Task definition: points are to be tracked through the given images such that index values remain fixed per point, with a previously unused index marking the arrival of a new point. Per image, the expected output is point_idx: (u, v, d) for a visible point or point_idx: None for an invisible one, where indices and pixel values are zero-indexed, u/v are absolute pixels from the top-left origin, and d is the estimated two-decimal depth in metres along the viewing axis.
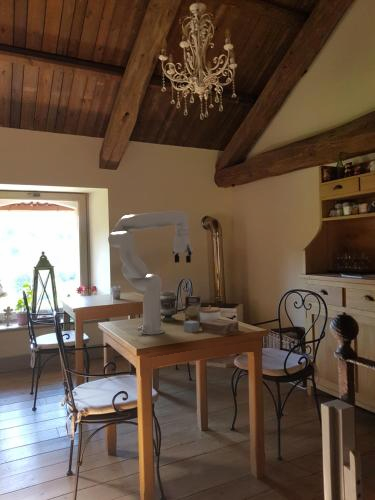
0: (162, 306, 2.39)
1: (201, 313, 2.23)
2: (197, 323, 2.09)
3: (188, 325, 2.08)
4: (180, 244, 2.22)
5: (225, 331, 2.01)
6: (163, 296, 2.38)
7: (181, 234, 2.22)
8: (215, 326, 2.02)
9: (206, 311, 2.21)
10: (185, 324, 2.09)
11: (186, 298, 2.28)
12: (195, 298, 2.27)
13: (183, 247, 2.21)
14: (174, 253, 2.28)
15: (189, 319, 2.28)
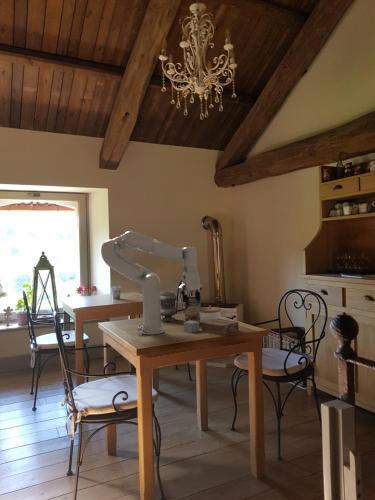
0: (162, 306, 2.39)
1: (201, 313, 2.23)
2: (197, 323, 2.09)
3: (188, 325, 2.08)
4: (196, 281, 2.09)
5: (225, 331, 2.01)
6: (163, 296, 2.38)
7: None
8: (215, 326, 2.02)
9: (206, 311, 2.21)
10: (185, 324, 2.09)
11: None
12: None
13: (199, 284, 2.11)
14: (185, 292, 2.05)
15: (189, 319, 2.28)
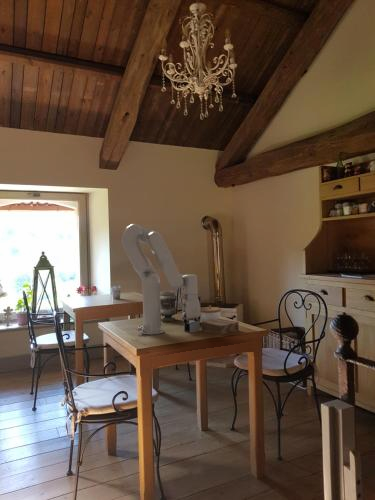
0: (162, 306, 2.39)
1: (202, 313, 2.23)
2: (197, 323, 2.09)
3: None
4: (196, 309, 2.09)
5: (225, 331, 2.01)
6: (163, 296, 2.38)
7: (197, 298, 2.10)
8: (215, 326, 2.02)
9: (207, 311, 2.21)
10: None
11: None
12: None
13: (199, 311, 2.11)
14: (187, 321, 2.06)
15: None
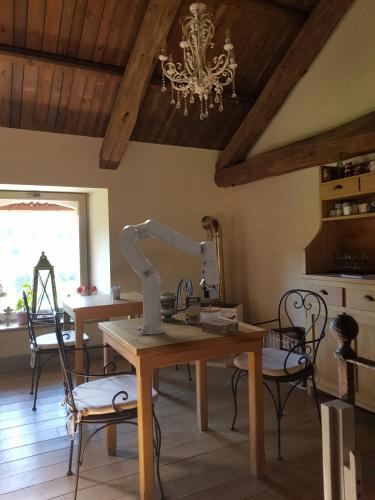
0: (162, 306, 2.39)
1: (202, 313, 2.23)
2: (216, 290, 2.08)
3: None
4: (215, 275, 2.08)
5: (225, 331, 2.01)
6: (163, 296, 2.38)
7: (215, 265, 2.09)
8: (214, 326, 2.02)
9: (207, 311, 2.21)
10: None
11: (186, 298, 2.27)
12: (196, 298, 2.27)
13: (218, 278, 2.10)
14: (207, 288, 2.05)
15: (189, 319, 2.27)
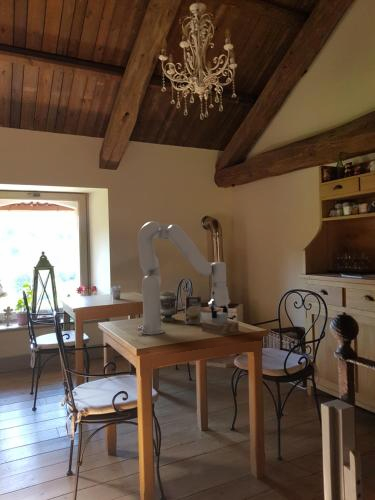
0: (162, 306, 2.39)
1: (203, 313, 2.23)
2: (225, 314, 2.08)
3: (217, 316, 2.06)
4: (225, 297, 2.08)
5: (224, 331, 2.01)
6: (163, 296, 2.38)
7: None
8: (214, 326, 2.02)
9: (208, 311, 2.21)
10: None
11: (187, 298, 2.27)
12: (196, 298, 2.27)
13: (227, 299, 2.09)
14: (215, 308, 2.04)
15: (190, 319, 2.27)
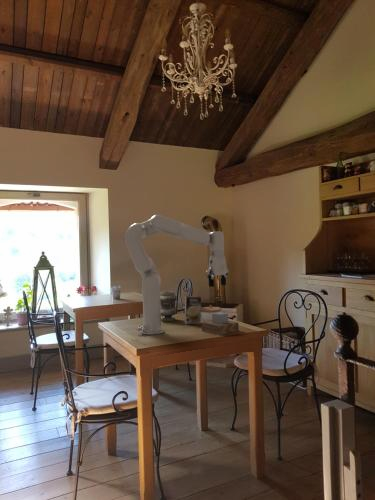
0: (162, 306, 2.39)
1: (203, 313, 2.23)
2: (226, 314, 2.08)
3: (217, 316, 2.06)
4: (222, 266, 2.08)
5: (224, 332, 2.01)
6: (163, 296, 2.38)
7: None
8: (214, 326, 2.02)
9: (209, 311, 2.21)
10: (214, 315, 2.07)
11: (187, 298, 2.26)
12: (196, 298, 2.27)
13: (225, 269, 2.09)
14: (212, 276, 2.04)
15: (190, 319, 2.27)
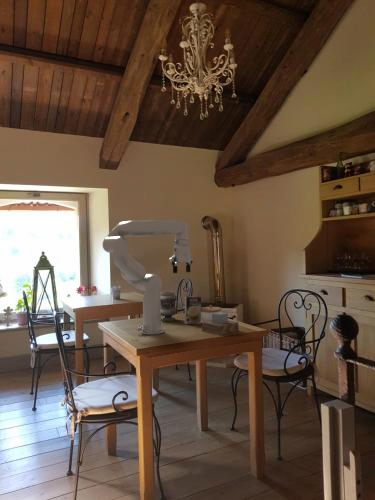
0: (162, 306, 2.39)
1: (204, 313, 2.23)
2: (226, 314, 2.08)
3: (217, 316, 2.06)
4: (186, 254, 2.21)
5: (224, 331, 2.01)
6: (163, 296, 2.38)
7: None
8: (214, 326, 2.02)
9: (209, 311, 2.21)
10: (214, 315, 2.07)
11: (187, 298, 2.26)
12: (196, 298, 2.27)
13: (189, 257, 2.23)
14: (175, 263, 2.18)
15: (190, 319, 2.26)
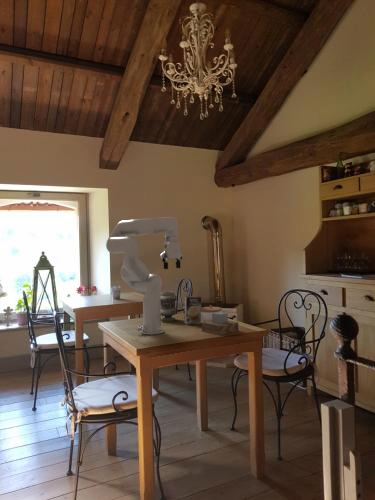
0: (162, 306, 2.39)
1: (204, 313, 2.23)
2: (226, 314, 2.08)
3: (217, 316, 2.06)
4: (176, 250, 2.25)
5: (224, 331, 2.01)
6: (163, 296, 2.38)
7: (177, 240, 2.26)
8: (214, 326, 2.02)
9: (210, 311, 2.22)
10: (214, 315, 2.08)
11: (187, 298, 2.26)
12: (196, 298, 2.27)
13: (179, 253, 2.27)
14: (166, 259, 2.22)
15: (190, 320, 2.26)
